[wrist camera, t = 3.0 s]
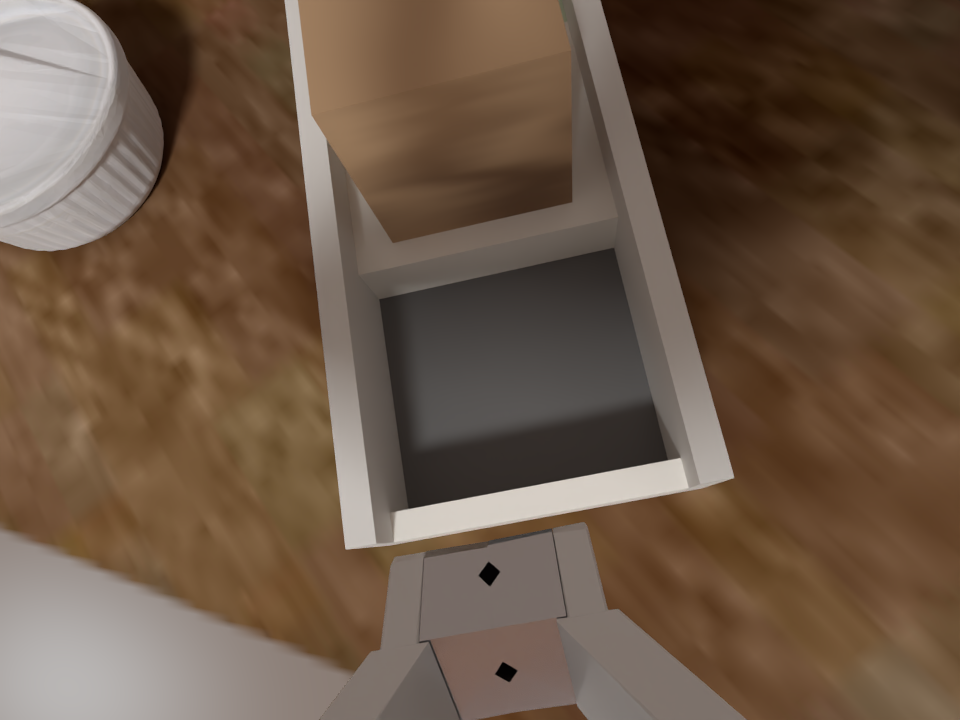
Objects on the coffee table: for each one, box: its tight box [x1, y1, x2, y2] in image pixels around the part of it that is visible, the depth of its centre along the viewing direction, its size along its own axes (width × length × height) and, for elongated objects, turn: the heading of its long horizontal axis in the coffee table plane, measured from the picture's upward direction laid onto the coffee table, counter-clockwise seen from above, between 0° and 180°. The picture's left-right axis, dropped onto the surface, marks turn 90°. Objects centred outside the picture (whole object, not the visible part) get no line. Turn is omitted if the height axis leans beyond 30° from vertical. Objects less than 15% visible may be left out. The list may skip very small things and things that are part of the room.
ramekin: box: [0, 0, 164, 251], centre depth 29 cm, size 11×11×5 cm
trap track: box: [285, 0, 734, 549], centre depth 27 cm, size 39×12×5 cm, turn 10°
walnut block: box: [298, 0, 572, 243], centre depth 22 cm, size 7×7×8 cm
